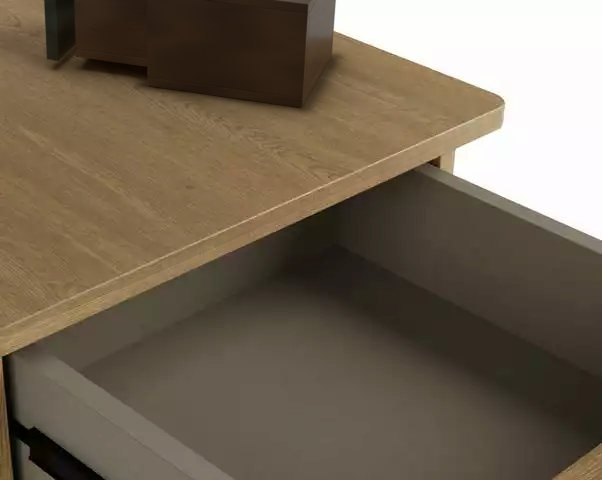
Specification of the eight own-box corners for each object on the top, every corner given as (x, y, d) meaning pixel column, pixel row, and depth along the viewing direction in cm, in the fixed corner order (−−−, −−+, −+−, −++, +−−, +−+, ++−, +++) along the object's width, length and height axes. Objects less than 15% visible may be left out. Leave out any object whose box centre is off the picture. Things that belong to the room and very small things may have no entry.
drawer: (-21, 50, 123) (-27, -32, 119) (31, 8, 134) (27, -68, 130) (184, 79, 120) (185, -4, 116) (221, 34, 131) (223, -43, 127)
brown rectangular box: (147, 85, 121) (146, -17, 116) (190, 37, 132) (191, -59, 127) (301, 108, 119) (308, 4, 113) (331, 56, 130) (338, -41, 125)
